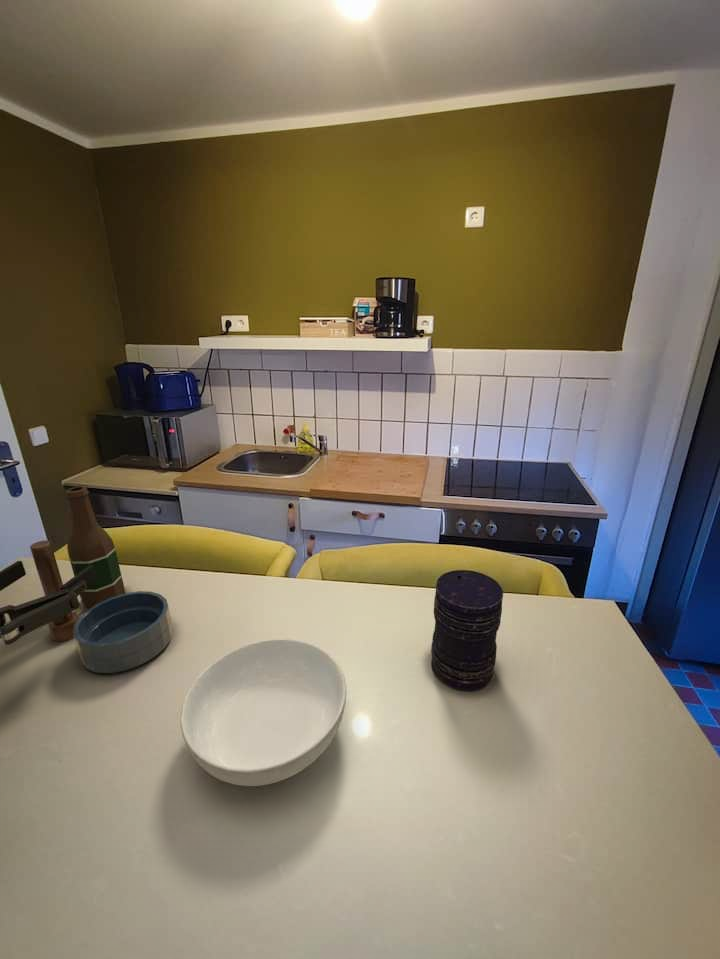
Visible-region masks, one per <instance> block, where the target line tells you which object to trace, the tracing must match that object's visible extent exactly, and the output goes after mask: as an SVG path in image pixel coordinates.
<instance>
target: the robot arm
mask: <svg viewBox="0 0 720 959" xmlns="http://www.w3.org/2000/svg"><path fill="white" fill-rule="evenodd" d="M26 575H27V572H26V569H25V567H24V563H23V560H17V561H15V562H13V563H12V564H10V565H9V566H7V567H4V569H1V570H0V592H1V591H4V589H6V588H8V587H9V586H11V585H12V584H14V583H16V582H17V581H18V580H20V579H22V578H23V577H24V576H26ZM95 580H97V577H96V574H95V570H94V566H91V565H89V566H88V567H87V568H85V569H84V570H83V571H81V572H80V573H78V574H77V575H76V576H74V575H73V577H72V578H70V579H68V580H67V581H66V582H65V583H63V585H62V586H61V587H60V590H61V591H58V592H55V593H52V594H49V595H46V596H45V595H44V596H41V597H38V598H35V599H32V600H29V601H26V602H23V603H19V604H17V605H12V604H8V605H5V606H2V607H0V640H3V643H4V645H5V646H10V645H12V644H14V643H16V642H17V641H18V640H20V639H21V638H23V637H24V636H25V635H27V634H30V633H32V632H33V631H36V630H37V629H40V628H42V627H44V626H46V625H48V623H50V622H52V621H54V620H56V619H58V618H60V617H62V616H64V615H66V614H68V613H70V612H75V611H76V610H78V609H79V608H80V602H79V599H78V597H79V596H80V594H81V593H82V592H83V591H85V590H86V589H87V587H88V586H89V585H90V584H92V583H93V582H94V581H95ZM6 615H8V618H9V620H7V618H6Z"/></svg>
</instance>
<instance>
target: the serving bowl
mask: <svg viewBox="0 0 720 959" xmlns="http://www.w3.org/2000/svg"><path fill="white" fill-rule="evenodd" d="M346 701H347V683H346V678H345V675H344V672H343V669H342V668H341V666H340V664H339V663H338V662H337V661H336V659H335V658H334V657H333V656H332V655H331V654H330V653H329V652H328V651H326V650H324V649H323V648H321V647H319V646H318V645H316V644H314V643H310V642H308V641H303V640H299V639H293V638H270V639H262V640H258V641H253V642H249V643H247V644H244V645H241V646H238V647H236V648H234V649H232V650H230V651H228V652H226V653H223V655H221V656H219V657H218V658H217V659H215V660H214V661H212V662H211V663H210V664H209V665H208V666H206V667H205V668H204V669H203V670H202V671H201V672H200V673H199V674H198V676H197V677H196V678H195V679H194V681H193V682H192V684H191V685H190V687H189V689H188V691H187V692H186V694H185V697H184V699H183V703H182V706H181V711H180V728H181V729H180V730H181V735H182V738H183V740H184V742H185V744H186V747H187V749H188V751H189V753H190V754H191V756H192V757H193V759H194V760H195V762H196V763H197V764H198V765H199V766H200V767H201V768H202V769H203V770H204V771H205V772H207V773H208V774H209V775H211V776H212V777H214V778H215V779H217V780H220V781H222V782H225V783H228V784H231V785H235V786H242V787H258V786H259V787H261V786H267V785H272V784H274V783H279V782H282V781H284V780H286V779H289V778H291V777H294V776H295V775H296V774H298V773H300V772H302V771H303V770H305V769H306V768H307V767H309V766H311V764H312V763H314V762H315V761H316V760H317V759H318V758H319V757H321V755H322V754H323V753H324V752H325V750H327V748H328V746H330V744H331V742H332V741H333V739H334V737H335V736H336V734H337V733H338V730H339V727H340V725H341V722H342V719H343V715H344V712H345V706H346Z"/></svg>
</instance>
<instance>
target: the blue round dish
mask: <svg viewBox="0 0 720 959" xmlns="http://www.w3.org/2000/svg"><path fill="white" fill-rule="evenodd" d="M171 617H172V616H171V612H170V608H169V604H168V600H167V598H165V597H164V596H163V595H162V594H160V593H157V592H153V591H149V590H148V591H143V590H138V591H131V592H125V594H121V595H118V596H114V597H111V598H109V599H107V600H104V601H102V602H100V603H98V604H96V605H95V606H93V607H92V608H90V609H88V610H87V609H86V611H85V612H84V613H83V614H81V615H80V616H78V618H79V619H78V620H77V622H76V624H75V625H74V627H73V636H74V637H73V639H74V642H75V646H76V649H77V652H78V657H79V659H80V662H81V664H82V665H83V666H84V668H85V669H86V670H89V671H92V672H93V673H98V674H100V673H101V674H114V673H120V672H125V671H127V670H130V669H133V668H136V667H138V666H141V665H143V664H145V663H146V662H148V661H150V660H151V659H153V658H155V657H156V656H157V655H158V654H159V653H161V652H162V651H163V650H164V649H165V648H166V647H167V645H168V644H169V643H170V641H171V640H172V636H173V632H174V627H173V623H172V618H171Z"/></svg>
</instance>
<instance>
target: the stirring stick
mask: <svg viewBox="0 0 720 959" xmlns="http://www.w3.org/2000/svg"><path fill="white" fill-rule="evenodd" d="M29 549H30V552H31V555H32V558H33V562H34V565H35V569H36V571H37V574H38V577H39V580H40V584H41V587H42V590H43V594H44V596H46V595H49V594H52V593H55V592H58V591H61V590H60V587H61V586H62V585H64V582H63V579H62V576H61V572H60V569H59V566H58V562H57V559H56V556H55V552H54V549H53V546H52V542H51V541H50V540H45V539H44V540H40V541H37V542H34V543H32V544H31V545H30V546H29ZM78 619H79V614H78V613H77V612H75V611H72V612H70V613H68V614H66V615H64V616H62V617H60V618H58V619H56V620H54V621H52V622H50V623H48V624H47V626H48V629H49V632H50V636H51V639H52V640H53V641H54V642H57V643H59V642H66V641H69V640H71V639H74V636H73V627H74V625H75V624H76V622H77V620H78Z"/></svg>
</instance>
